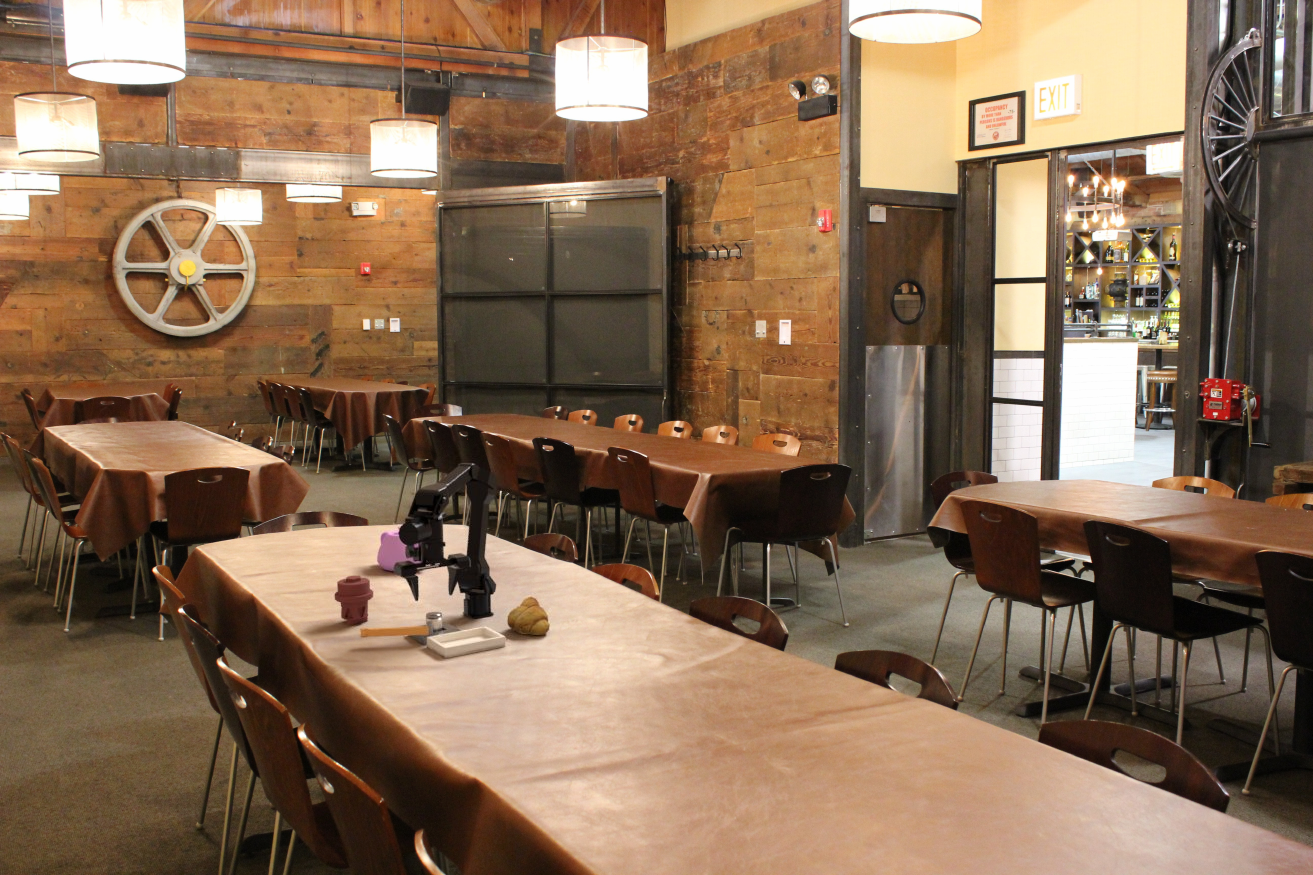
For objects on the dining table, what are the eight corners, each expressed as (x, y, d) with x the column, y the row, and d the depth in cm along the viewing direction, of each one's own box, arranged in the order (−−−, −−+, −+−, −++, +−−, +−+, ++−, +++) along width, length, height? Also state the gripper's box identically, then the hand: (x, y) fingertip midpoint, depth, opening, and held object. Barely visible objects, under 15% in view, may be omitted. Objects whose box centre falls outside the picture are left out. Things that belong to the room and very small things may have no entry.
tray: (485, 635, 276) (485, 626, 276) (505, 646, 267) (505, 636, 267) (427, 646, 267) (426, 637, 267) (445, 658, 258) (445, 648, 258)
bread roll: (557, 634, 277) (557, 604, 276) (523, 641, 272) (523, 610, 271) (534, 623, 288) (534, 593, 287) (501, 629, 282) (501, 599, 281)
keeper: (361, 635, 269) (360, 623, 268) (433, 632, 271) (433, 620, 271) (360, 637, 267) (359, 625, 266) (432, 635, 269) (432, 622, 269)
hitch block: (444, 628, 282) (444, 621, 282) (460, 637, 274) (460, 630, 274) (408, 635, 277) (408, 627, 276) (423, 644, 269) (423, 637, 268)
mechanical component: (380, 617, 293) (363, 628, 283) (346, 615, 295) (328, 626, 285) (379, 573, 292) (361, 582, 282) (345, 571, 294) (326, 580, 284)
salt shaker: (438, 633, 278) (438, 610, 278) (445, 637, 275) (444, 614, 274) (424, 636, 276) (423, 613, 275) (430, 639, 273) (429, 616, 272)
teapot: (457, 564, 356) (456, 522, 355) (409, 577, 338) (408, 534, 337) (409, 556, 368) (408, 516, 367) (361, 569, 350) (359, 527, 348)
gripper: (452, 528, 284) (454, 585, 286) (384, 537, 274) (386, 596, 276) (470, 535, 275) (472, 594, 277) (401, 544, 265) (403, 606, 267)
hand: (433, 597), depth 274 cm, fingers open, 9 cm apart
